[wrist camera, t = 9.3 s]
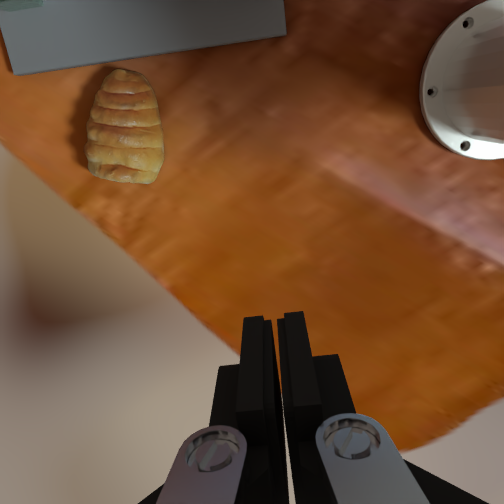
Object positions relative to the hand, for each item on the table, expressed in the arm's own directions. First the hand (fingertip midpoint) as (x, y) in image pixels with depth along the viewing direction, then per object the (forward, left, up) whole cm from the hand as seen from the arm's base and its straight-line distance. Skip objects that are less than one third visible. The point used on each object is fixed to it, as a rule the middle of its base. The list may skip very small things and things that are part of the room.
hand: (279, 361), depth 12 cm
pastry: (+12, -6, -30) cm, 32 cm away
